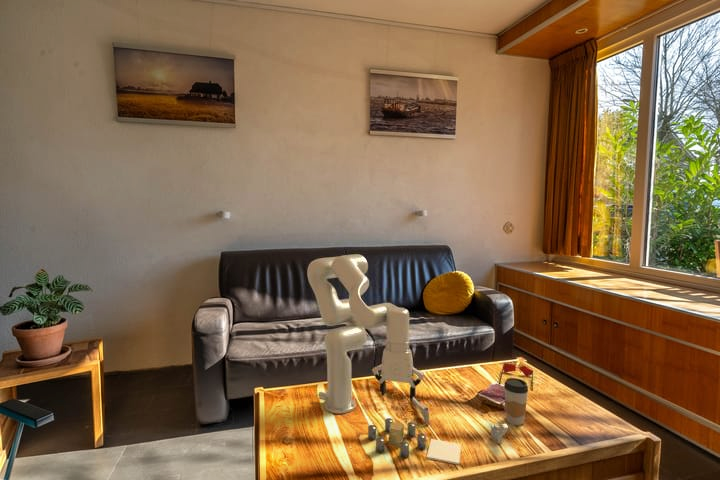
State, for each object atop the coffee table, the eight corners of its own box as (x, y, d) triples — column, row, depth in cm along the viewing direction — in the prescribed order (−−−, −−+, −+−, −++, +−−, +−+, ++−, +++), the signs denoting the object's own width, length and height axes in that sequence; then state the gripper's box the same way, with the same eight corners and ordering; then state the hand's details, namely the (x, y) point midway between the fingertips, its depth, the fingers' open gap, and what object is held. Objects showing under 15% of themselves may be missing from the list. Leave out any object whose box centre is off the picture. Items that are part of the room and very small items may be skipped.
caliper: (429, 426, 144) (429, 409, 143) (426, 426, 144) (426, 409, 143) (413, 399, 164) (413, 384, 164) (410, 399, 164) (410, 384, 163)
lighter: (490, 437, 137) (491, 415, 136) (494, 436, 137) (495, 414, 137) (503, 449, 130) (503, 426, 129) (507, 448, 131) (508, 425, 130)
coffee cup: (527, 418, 149) (528, 379, 148) (526, 429, 142) (528, 389, 140) (503, 413, 153) (505, 375, 151) (501, 424, 145) (503, 384, 144)
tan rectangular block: (389, 445, 132) (389, 428, 132) (391, 438, 136) (392, 422, 135) (400, 447, 131) (401, 430, 130) (403, 440, 135) (403, 424, 134)
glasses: (533, 377, 186) (533, 366, 185) (532, 392, 171) (533, 380, 170) (502, 371, 192) (502, 361, 191) (498, 385, 177) (499, 375, 176)
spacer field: (361, 450, 129) (361, 438, 129) (374, 426, 143) (374, 415, 143) (422, 462, 123) (422, 450, 123) (428, 436, 137) (429, 425, 137)
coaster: (426, 458, 125) (426, 456, 125) (431, 440, 135) (431, 438, 135) (459, 464, 122) (459, 462, 122) (461, 446, 132) (461, 444, 132)
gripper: (369, 346, 129) (369, 397, 131) (422, 352, 124) (421, 404, 125) (375, 339, 136) (375, 387, 138) (425, 344, 131) (425, 394, 132)
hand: (397, 395), depth 132 cm, fingers open, 9 cm apart
